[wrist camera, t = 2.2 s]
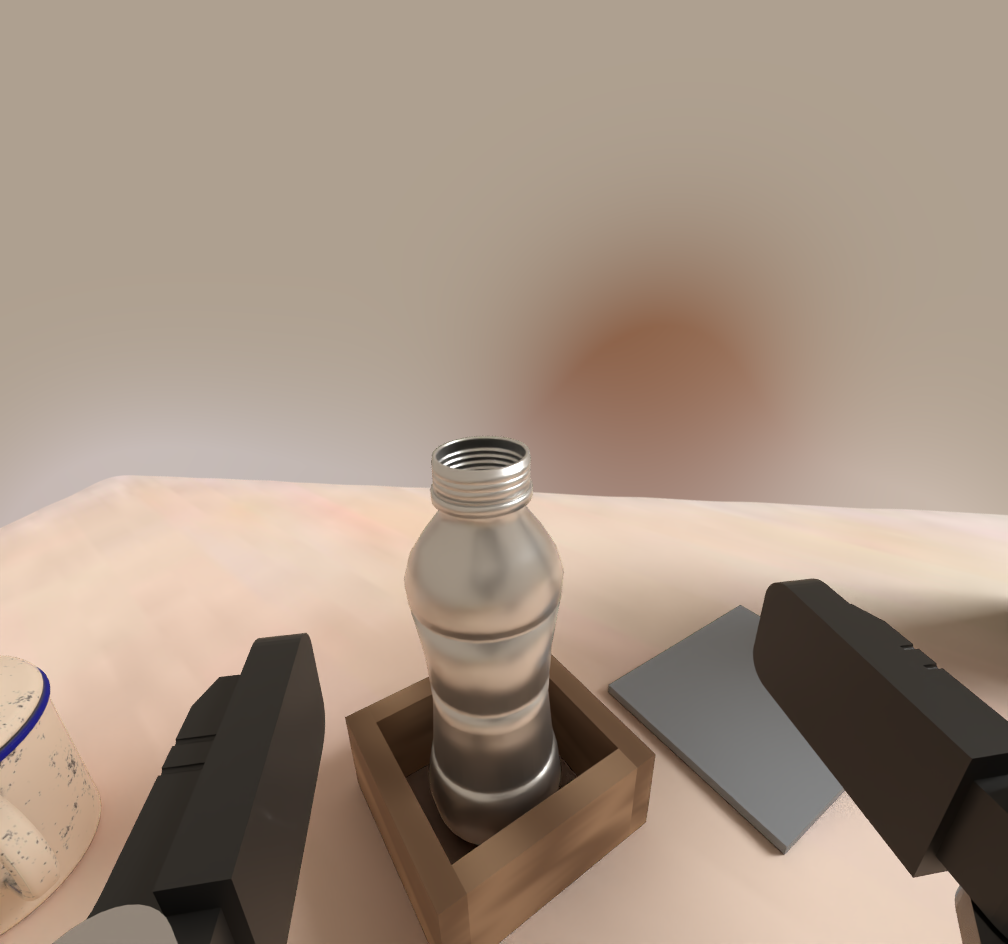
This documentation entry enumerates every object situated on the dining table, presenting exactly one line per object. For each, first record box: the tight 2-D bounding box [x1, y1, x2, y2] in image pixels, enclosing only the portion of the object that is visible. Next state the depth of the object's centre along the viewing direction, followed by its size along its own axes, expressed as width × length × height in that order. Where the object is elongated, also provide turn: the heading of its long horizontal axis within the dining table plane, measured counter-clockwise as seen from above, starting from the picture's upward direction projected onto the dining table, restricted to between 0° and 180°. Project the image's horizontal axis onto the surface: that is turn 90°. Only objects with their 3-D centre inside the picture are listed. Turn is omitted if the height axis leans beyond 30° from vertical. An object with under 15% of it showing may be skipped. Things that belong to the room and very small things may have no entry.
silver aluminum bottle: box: [404, 436, 564, 845], centre depth 24 cm, size 6×7×20 cm
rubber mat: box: [608, 605, 845, 855], centre depth 33 cm, size 14×12×1 cm
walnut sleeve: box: [345, 654, 655, 944], centre depth 27 cm, size 11×10×5 cm
